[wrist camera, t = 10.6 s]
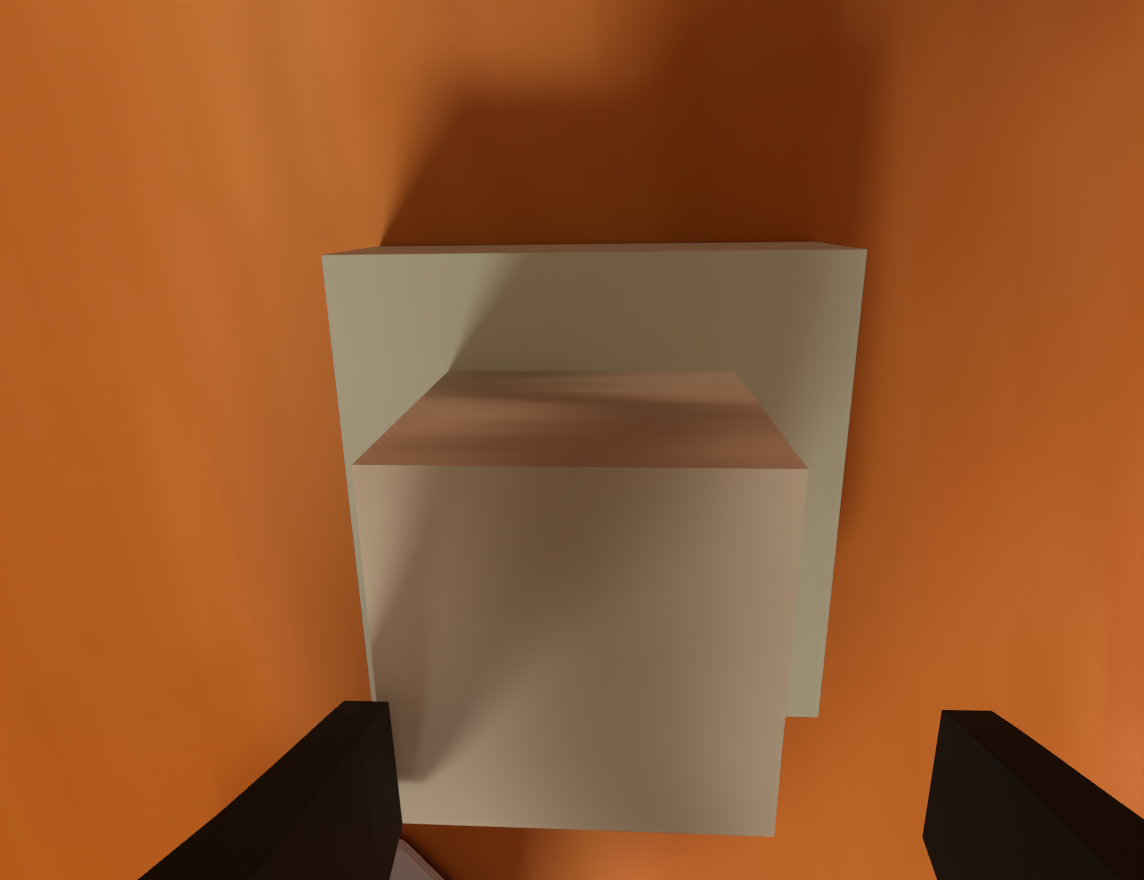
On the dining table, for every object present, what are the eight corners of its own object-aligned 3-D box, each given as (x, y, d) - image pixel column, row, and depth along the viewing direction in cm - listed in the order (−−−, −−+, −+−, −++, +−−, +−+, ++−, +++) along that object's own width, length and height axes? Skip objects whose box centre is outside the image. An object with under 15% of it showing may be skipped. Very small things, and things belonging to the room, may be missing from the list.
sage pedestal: (412, 623, 20) (372, 706, 17) (378, 246, 17) (321, 255, 14) (782, 630, 19) (818, 717, 16) (815, 241, 16) (867, 249, 13)
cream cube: (463, 619, 16) (389, 822, 11) (448, 370, 14) (351, 465, 9) (719, 625, 15) (774, 836, 10) (734, 371, 14) (808, 469, 9)
